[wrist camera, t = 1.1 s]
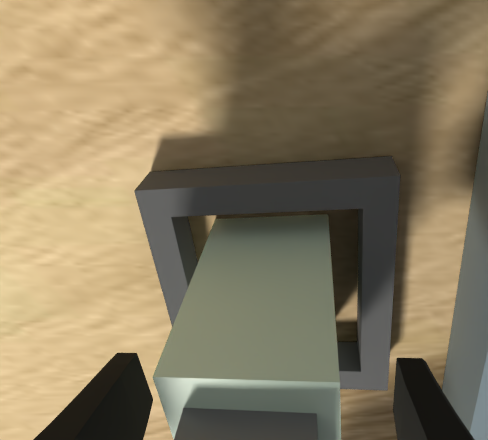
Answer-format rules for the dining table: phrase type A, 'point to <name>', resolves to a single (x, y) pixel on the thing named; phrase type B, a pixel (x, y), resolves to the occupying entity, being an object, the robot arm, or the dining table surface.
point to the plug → (256, 336)
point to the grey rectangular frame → (288, 200)
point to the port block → (472, 311)
